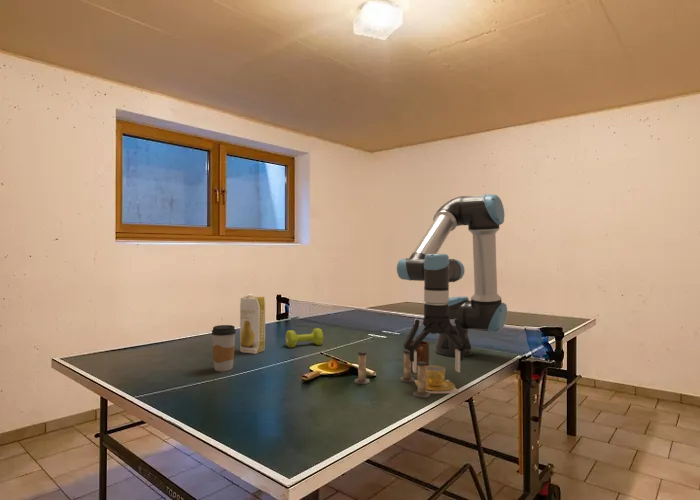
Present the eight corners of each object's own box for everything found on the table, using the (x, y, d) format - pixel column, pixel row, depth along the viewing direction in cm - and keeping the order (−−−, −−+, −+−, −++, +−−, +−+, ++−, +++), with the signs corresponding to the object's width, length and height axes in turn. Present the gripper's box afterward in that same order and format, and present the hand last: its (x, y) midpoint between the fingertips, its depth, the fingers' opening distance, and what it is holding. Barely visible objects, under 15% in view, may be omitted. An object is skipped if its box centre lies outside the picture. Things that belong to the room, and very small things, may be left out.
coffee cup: (240, 367, 154) (240, 325, 154) (226, 373, 146) (226, 329, 146) (220, 365, 157) (221, 324, 157) (206, 371, 149) (206, 328, 149)
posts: (417, 377, 143) (418, 349, 143) (431, 398, 123) (432, 364, 123) (353, 378, 142) (353, 349, 142) (357, 398, 122) (357, 365, 122)
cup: (408, 381, 137) (409, 364, 137) (442, 378, 140) (442, 362, 140) (426, 393, 125) (426, 375, 125) (462, 390, 129) (462, 372, 129)
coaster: (448, 381, 139) (448, 379, 139) (458, 393, 128) (458, 391, 128) (414, 382, 138) (414, 380, 138) (422, 393, 127) (422, 391, 127)
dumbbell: (318, 342, 197) (318, 326, 197) (324, 346, 190) (325, 329, 190) (284, 345, 190) (284, 329, 190) (289, 349, 183) (289, 332, 183)
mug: (433, 375, 146) (434, 347, 146) (411, 375, 146) (411, 347, 146) (426, 365, 158) (426, 340, 158) (406, 365, 158) (406, 340, 158)
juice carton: (237, 352, 176) (237, 294, 176) (248, 348, 183) (249, 292, 183) (256, 354, 172) (256, 295, 172) (267, 350, 180) (267, 293, 180)
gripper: (471, 301, 137) (471, 367, 138) (394, 302, 136) (394, 368, 136) (480, 304, 130) (479, 374, 130) (398, 305, 129) (398, 375, 129)
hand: (436, 371), depth 133 cm, fingers open, 13 cm apart
